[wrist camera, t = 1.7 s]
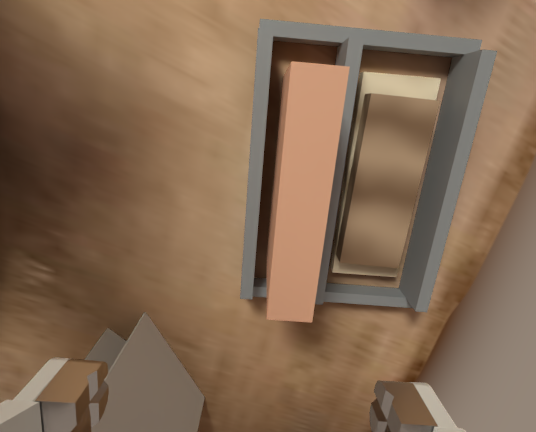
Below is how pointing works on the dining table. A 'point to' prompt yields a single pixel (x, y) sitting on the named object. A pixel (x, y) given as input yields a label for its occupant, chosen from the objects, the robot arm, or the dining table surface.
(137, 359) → the brochure
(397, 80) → the board
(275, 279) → the salmon brown rectangular block
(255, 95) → the rack
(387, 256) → the upper offcut
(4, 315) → the dining table surface
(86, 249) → the dining table surface
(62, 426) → the robot arm
